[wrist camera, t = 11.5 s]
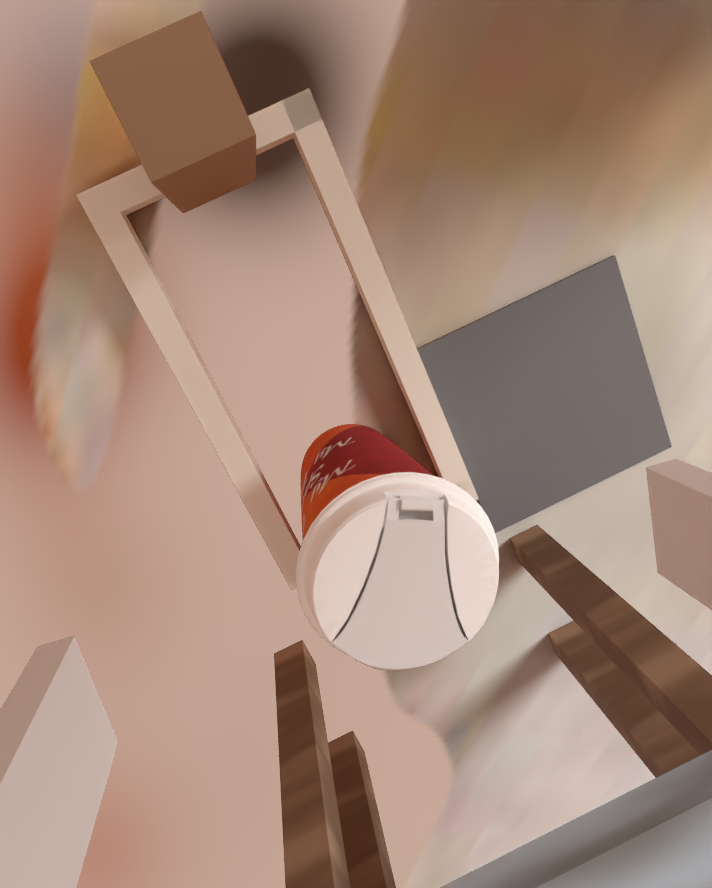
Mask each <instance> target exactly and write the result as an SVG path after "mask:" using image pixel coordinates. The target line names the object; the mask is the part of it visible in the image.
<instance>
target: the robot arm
mask: <svg viewBox="0 0 712 888" xmlns="http://www.w3.org/2000/svg"><path fill="white" fill-rule="evenodd" d="M646 471H647V480H648V489H649V499H650V508H651V517H652V526H653V535H654V544H655V553H656V562H657V571H658V573H659V574H660V575H662V576H663V577H665V578H666V579H668V580H669V581H670V582H672V583H673V584H675V585H676V586H678V587H679V588H681V589H682V590H683V591H685V592H686V593H688V594H689V595H691V596H692V597H694V598H695V599H696V600H698V601H699V602H701V603H702V604H704V605H705V606H707V607H708V608H709V609H711V610H712V473H711V472H708V471H706V470H703V469H700V468H698V467H695V466H693V465H690V464H688V463H685V462H683V461H680V460H678V459H674V460H671V461H667V462H664V463H661V464H657V465H654V466H650V467H647V468H646ZM117 745H118V739H117V737H116V735H115V732H114V730H113V727H112V725H111V723H110V720H109V718H108V715H107V713H106V710H105V708H104V706H103V703H102V701H101V699H100V696H99V694H98V691H97V689H96V686H95V684H94V682H93V679H92V677H91V675H90V672H89V670H88V667H87V665H86V662H85V660H84V657H83V655H82V653H81V650H80V648H79V645H78V643H77V641H76V638H75V636H73V637H69V638H66V639H62V640H59V641H56V642H52V643H49V644H46V645H42V646H39V647H37V649H36V650H35V652H34V654H33V656H32V657H31V659H30V660H29V662H28V664H27V666H26V667H25V669H24V671H23V672H22V674H21V676H20V678H19V679H18V681H17V683H16V684H15V686H14V688H13V689H12V691H11V693H10V694H9V696H8V698H7V700H6V701H5V703H4V705H3V706H2V708H1V710H0V888H77V884H78V881H79V877H80V874H81V870H82V867H83V863H84V859H85V856H86V853H87V849H88V846H89V842H90V839H91V835H92V832H93V829H94V825H95V821H96V818H97V814H98V811H99V808H100V804H101V801H102V797H103V794H104V790H105V787H106V783H107V780H108V776H109V773H110V769H111V765H112V762H113V759H114V755H115V752H116V748H117Z"/></svg>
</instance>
